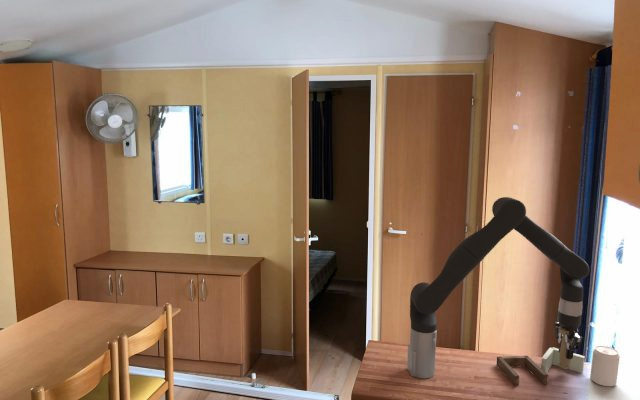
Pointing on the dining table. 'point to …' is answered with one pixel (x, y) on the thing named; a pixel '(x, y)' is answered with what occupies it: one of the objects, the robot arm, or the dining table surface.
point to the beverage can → (604, 366)
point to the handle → (564, 350)
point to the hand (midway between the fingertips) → (565, 355)
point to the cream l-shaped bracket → (553, 358)
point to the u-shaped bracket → (515, 361)
